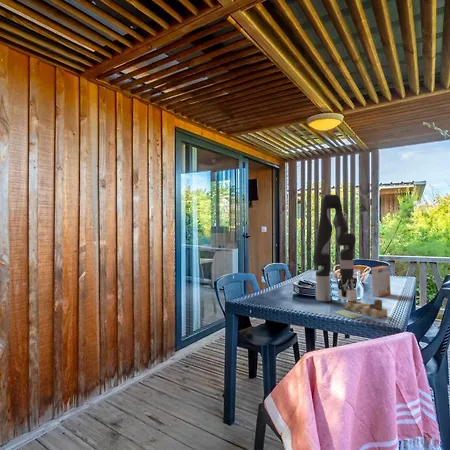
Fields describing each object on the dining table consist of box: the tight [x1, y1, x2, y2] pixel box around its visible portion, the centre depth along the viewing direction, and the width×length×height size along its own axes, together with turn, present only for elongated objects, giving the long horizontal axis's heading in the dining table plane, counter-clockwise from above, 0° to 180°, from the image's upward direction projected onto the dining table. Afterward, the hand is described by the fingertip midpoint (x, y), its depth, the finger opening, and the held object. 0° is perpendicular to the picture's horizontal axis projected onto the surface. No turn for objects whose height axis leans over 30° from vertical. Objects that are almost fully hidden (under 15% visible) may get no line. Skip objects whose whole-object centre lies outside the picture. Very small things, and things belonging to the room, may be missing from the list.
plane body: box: [344, 299, 388, 319], centre depth 188 cm, size 24×8×11 cm, turn 24°
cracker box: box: [371, 265, 392, 298], centre depth 229 cm, size 14×6×21 cm, turn 121°
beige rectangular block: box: [338, 285, 358, 301], centre depth 184 cm, size 9×5×7 cm, turn 24°
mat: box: [333, 309, 364, 319], centre depth 184 cm, size 14×9×1 cm, turn 24°
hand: (347, 296), depth 184 cm, fingers closed on beige rectangular block, 5 cm apart
